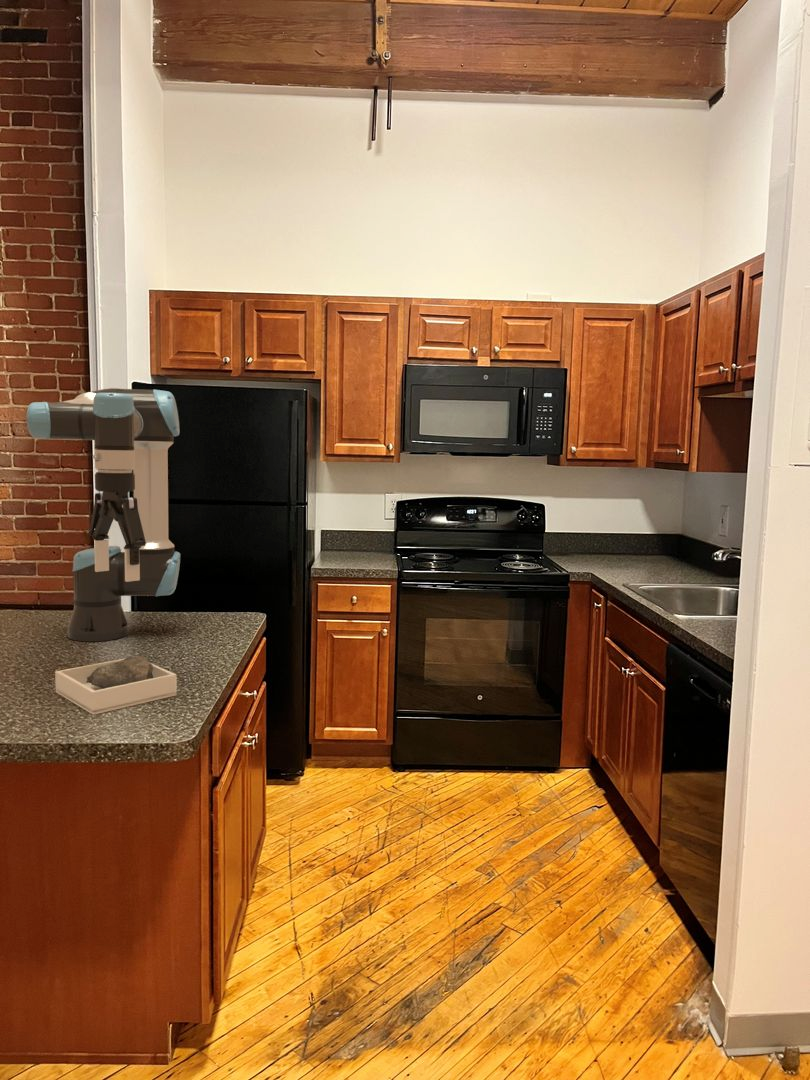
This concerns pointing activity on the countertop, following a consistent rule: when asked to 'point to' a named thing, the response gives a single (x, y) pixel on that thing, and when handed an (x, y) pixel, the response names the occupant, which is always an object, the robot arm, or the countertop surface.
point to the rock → (121, 672)
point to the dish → (113, 689)
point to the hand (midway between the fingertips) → (116, 575)
